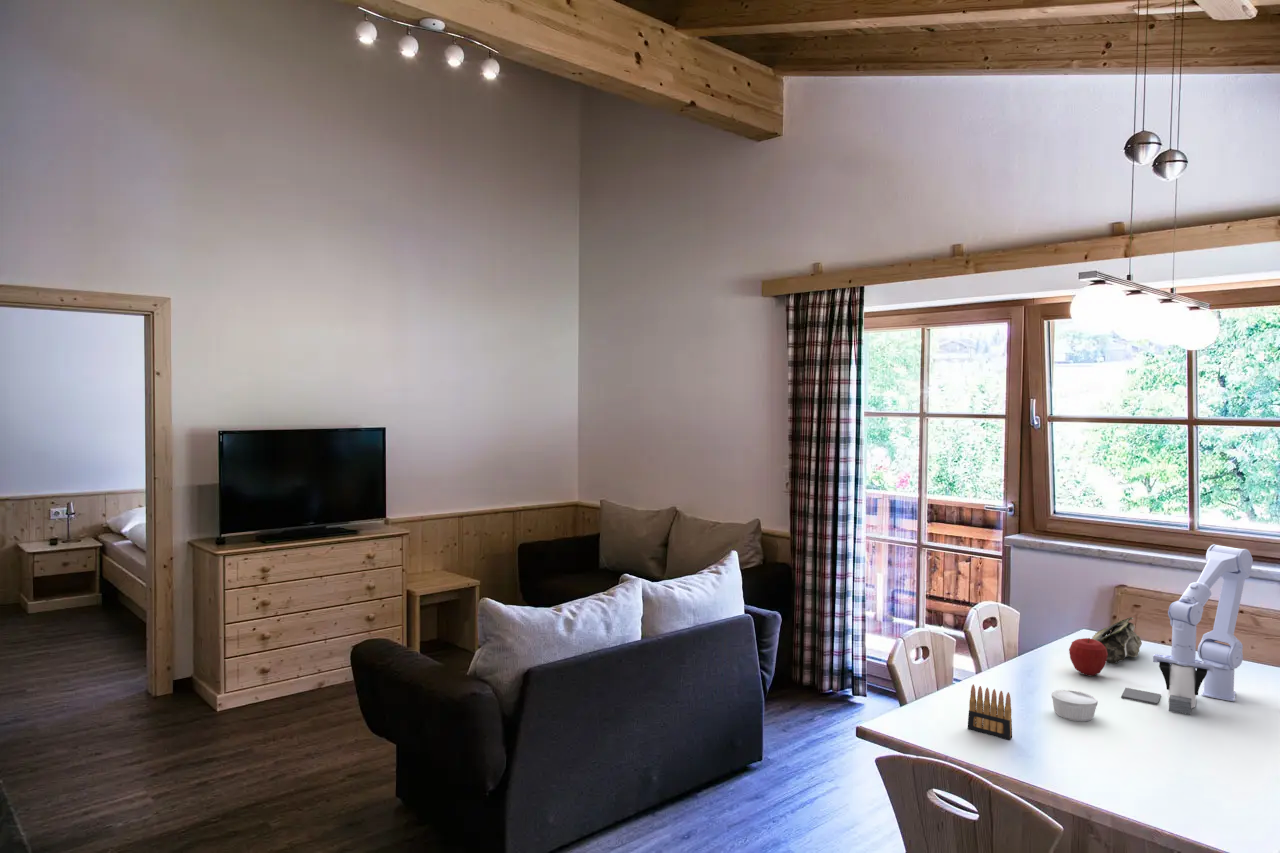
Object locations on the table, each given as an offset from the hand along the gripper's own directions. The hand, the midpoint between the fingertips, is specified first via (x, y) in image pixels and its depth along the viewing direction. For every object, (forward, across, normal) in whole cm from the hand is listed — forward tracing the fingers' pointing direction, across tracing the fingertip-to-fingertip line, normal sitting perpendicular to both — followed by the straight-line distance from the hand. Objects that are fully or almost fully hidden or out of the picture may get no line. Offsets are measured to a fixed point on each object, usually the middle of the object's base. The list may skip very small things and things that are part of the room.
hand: (1182, 691), depth 237 cm
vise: (+4, 0, 0) cm, 4 cm away
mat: (+4, -10, 0) cm, 11 cm away
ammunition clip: (+4, -38, -56) cm, 68 cm away
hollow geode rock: (+4, -22, +39) cm, 45 cm away
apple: (+4, -26, +13) cm, 29 cm away
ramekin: (+4, -23, -28) cm, 36 cm away
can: (+4, 0, 0) cm, 4 cm away
